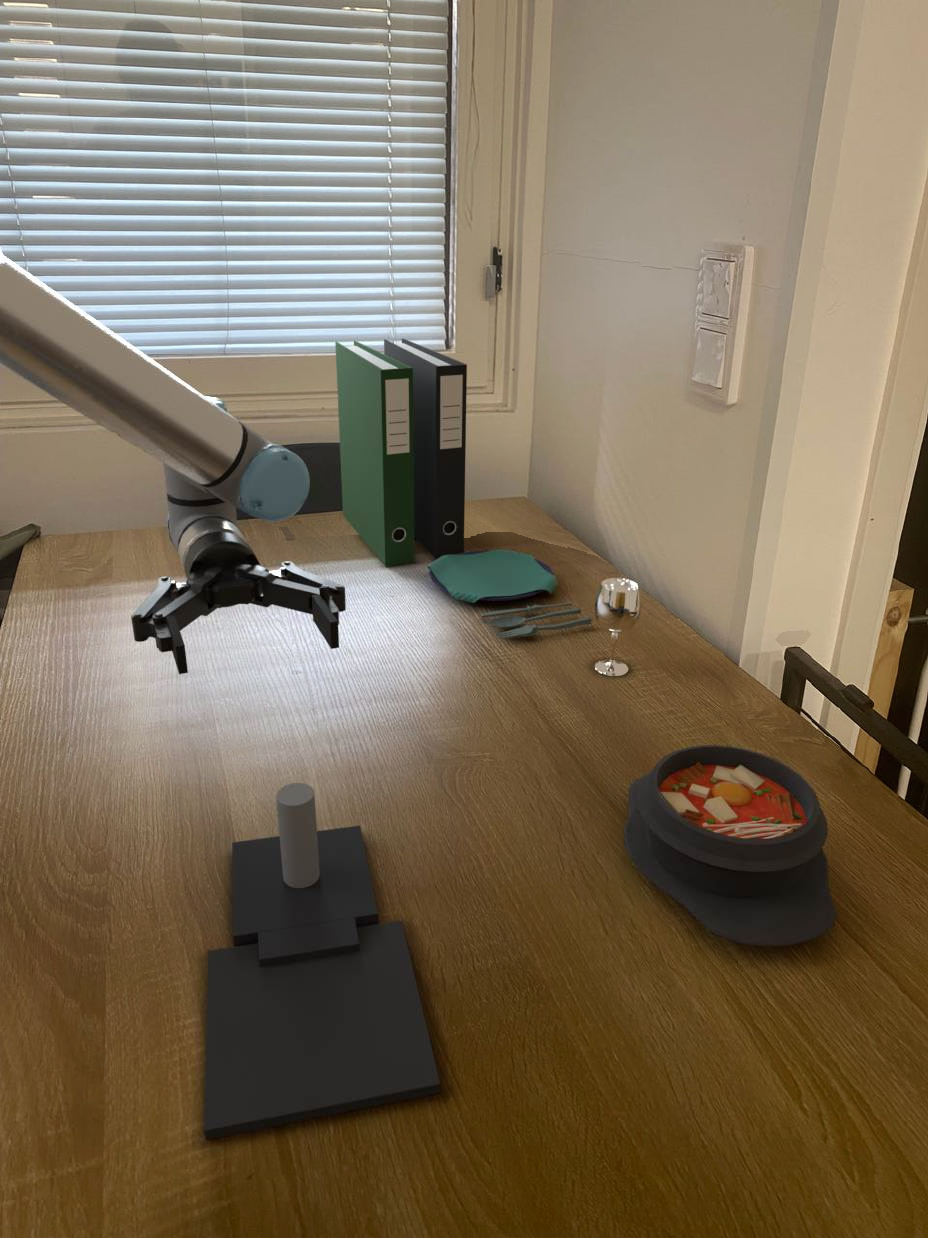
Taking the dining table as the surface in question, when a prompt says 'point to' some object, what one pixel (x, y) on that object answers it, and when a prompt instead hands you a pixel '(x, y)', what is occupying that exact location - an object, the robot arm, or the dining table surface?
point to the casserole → (734, 844)
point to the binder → (402, 448)
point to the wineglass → (616, 617)
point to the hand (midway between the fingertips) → (260, 647)
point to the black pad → (313, 1034)
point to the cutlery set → (501, 586)
